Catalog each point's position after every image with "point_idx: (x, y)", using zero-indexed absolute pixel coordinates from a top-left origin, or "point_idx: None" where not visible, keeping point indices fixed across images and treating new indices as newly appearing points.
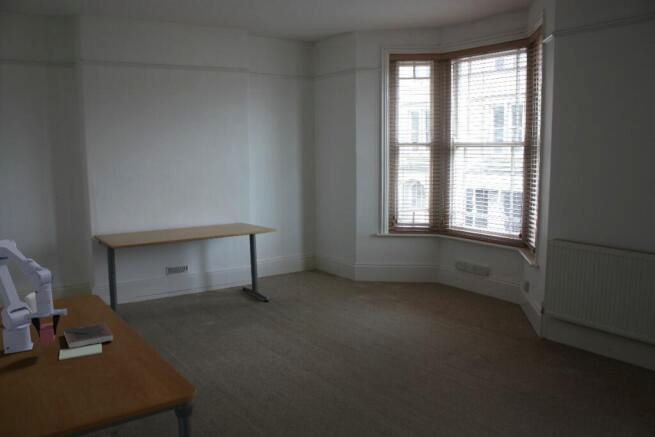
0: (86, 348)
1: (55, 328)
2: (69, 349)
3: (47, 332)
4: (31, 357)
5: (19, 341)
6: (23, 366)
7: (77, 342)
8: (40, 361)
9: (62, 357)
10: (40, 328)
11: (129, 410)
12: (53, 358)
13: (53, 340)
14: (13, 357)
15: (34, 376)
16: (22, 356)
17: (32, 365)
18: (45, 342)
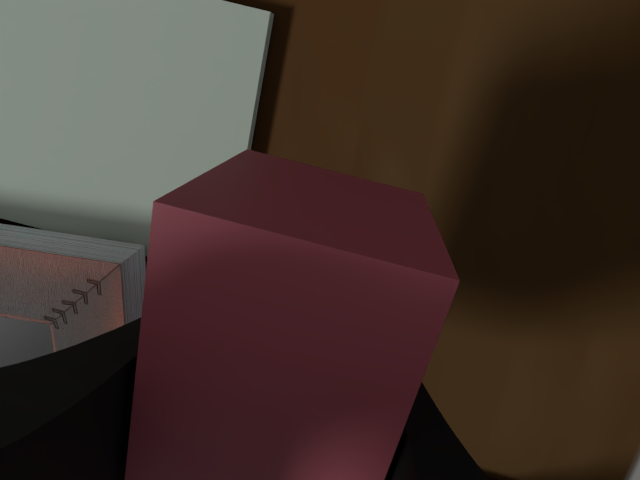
0: (4, 140)
1: (113, 338)
2: (149, 228)
3: (290, 214)
4: (472, 299)
5: None
6: (616, 92)
7: (43, 248)
8: (436, 124)
9: (233, 30)
10: (384, 468)
11: None
12: (313, 122)
13: (244, 156)
14: (593, 405)
15: None
16: (526, 377)
17: (535, 54)
18: (361, 182)
